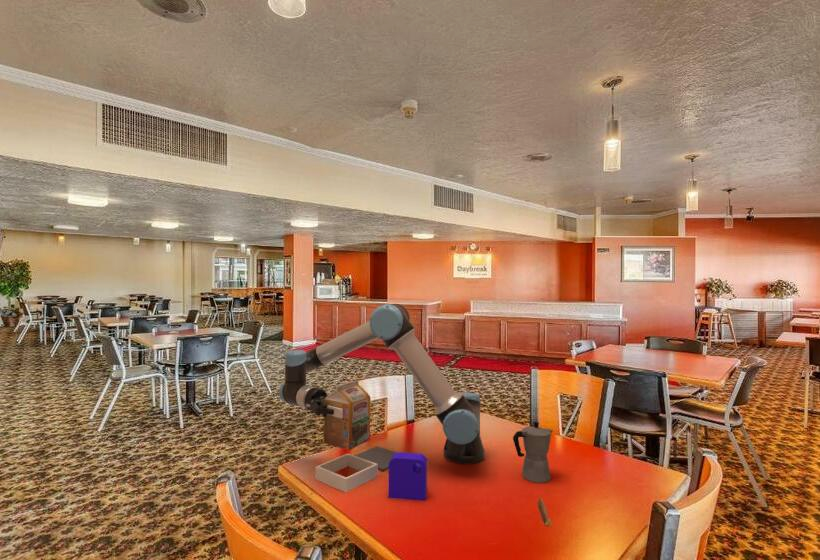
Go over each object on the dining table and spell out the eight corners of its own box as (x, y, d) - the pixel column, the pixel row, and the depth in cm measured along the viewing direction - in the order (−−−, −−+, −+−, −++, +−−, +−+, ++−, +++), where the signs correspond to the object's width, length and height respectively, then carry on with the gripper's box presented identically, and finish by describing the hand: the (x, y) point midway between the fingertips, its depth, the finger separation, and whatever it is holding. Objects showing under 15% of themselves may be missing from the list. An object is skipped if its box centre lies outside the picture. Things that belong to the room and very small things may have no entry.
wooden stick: (544, 504, 121) (545, 497, 121) (553, 528, 109) (553, 519, 109) (535, 504, 122) (535, 496, 122) (543, 527, 110) (543, 518, 110)
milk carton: (348, 450, 129) (349, 388, 130) (323, 443, 135) (324, 383, 135) (369, 439, 138) (370, 381, 139) (345, 433, 144) (346, 378, 144)
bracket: (425, 501, 122) (425, 460, 122) (388, 498, 124) (388, 457, 124) (430, 474, 140) (430, 438, 140) (398, 472, 141) (398, 436, 142)
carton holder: (377, 476, 138) (378, 464, 138) (345, 492, 126) (346, 479, 126) (347, 465, 146) (347, 453, 146) (315, 479, 135) (315, 466, 135)
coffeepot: (543, 468, 145) (543, 416, 145) (562, 480, 136) (562, 424, 137) (505, 474, 140) (505, 420, 140) (522, 487, 131) (522, 429, 131)
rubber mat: (409, 458, 152) (409, 456, 152) (383, 471, 141) (383, 469, 141) (376, 448, 162) (376, 446, 162) (350, 459, 151) (350, 457, 151)
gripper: (337, 402, 157) (380, 412, 144) (283, 416, 139) (327, 430, 125) (337, 381, 157) (380, 390, 144) (283, 393, 139) (327, 405, 125)
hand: (356, 409), depth 135 cm, fingers closed on milk carton, 11 cm apart
